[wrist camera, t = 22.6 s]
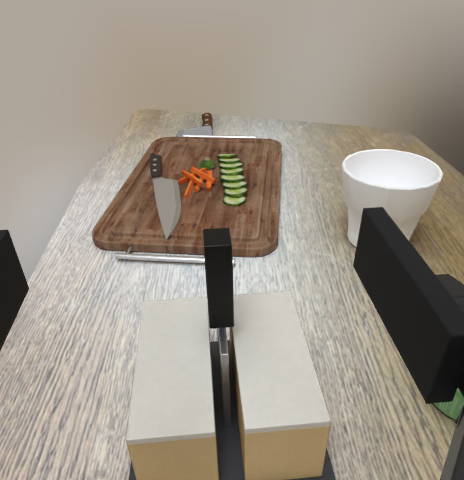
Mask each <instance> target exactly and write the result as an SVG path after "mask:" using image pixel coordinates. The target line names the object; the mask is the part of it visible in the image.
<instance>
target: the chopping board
mask: <svg viewBox="0 0 464 480" xmlns="http://www.w3.org/2000/svg"><path fill="white" fill-rule="evenodd" d="M281 147H282V145H281V143H280V142H278V141H276V140H272V139H256V136H217V135H183V136H182V137H164V138H160V139H157V140H155V141H154V142H153V143H152V144H151V146H150V147H149V149H148V150H147V152H146V153H145V154H144V156H143V157H142V159H141V160H140V162H139V163H138V165H137V166H136V168H135V169H134V170H133V172H132V173H131V175H130V176H129V178H128V179H127V181H126V182H125V183H124V185H123V186H122V188H121V189H120V191H119V192H118V194H117V195H116V197H115V198H114V199H113V201H112V202H111V204H110V205H109V207H108V208H107V210H106V211H105V212H104V214H103V215H102V217H101V218H100V220H99V221H98V223H97V224H96V226H95V227H94V228H93V231H92V237H93V241H94V243H95V245H96V246H97V247H99V248H101V249H106V250H116V251H127V252H126V253H117V254H116V259H129V260H149V261H169V262H189V263H205V257H189V256H169V255H148V254H130V252H131V251H137V252H158V253H178V254H199V255H204V242H203V229H213V228H229V229H230V235H231V241H232V256H240V257H260V256H264V255H267V254H270V253H271V252H272V251H274V250H275V249H276V246H277V239H278V216H279V193H280V170H281ZM232 260H233V265H234V264H235V259H232Z"/></svg>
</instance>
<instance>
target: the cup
mask: <svg viewBox="0 0 464 480" xmlns="http://www.w3.org/2000/svg"><path fill="white" fill-rule="evenodd" d="M442 176H443V173H442V171H441V169H440V168H439V166H438V165H437V164H436V163H434V162H432V161H431V160H429V159H427V158H425V157H422V156H419V155H416V154H413V153H410V152H404V151H398V150H386V149H373V150H365V151H359V152H356V153H354V154H351V155H348V156H347V157H346V159H345V160H344V161H343V162H342V182H343V195H344V199H345V202H346V204H347V209H348V232H347V237H348V240H349V241H350V242H351V243H352V244H353V245H354V246H355V247H357V241H358V235H359V229H360V223H361V218H362V212H363V208H374V207H383V208H384V209H385V211H386V212H387V213H388V215H389V216H390V217H391V218H392V220H393V221H394V222H395V224H396V225H397V226H398V227H399V229H400V230H401V231H402V233H403V234H404V235H405V237H406V238H407V239H408V240H410V238H411V236H412V234H413V231H414V229H415V227H416V225H417V223H418V221H419V219H420V217H421V215H422V214H423V213H424V212H425V211H426V210H427V209H428V208H429V206H430V204H431V201H432V199H433V197H434V194H435V192H436V190H437V188H438V185H439V183H440V181H441V178H442Z"/></svg>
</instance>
